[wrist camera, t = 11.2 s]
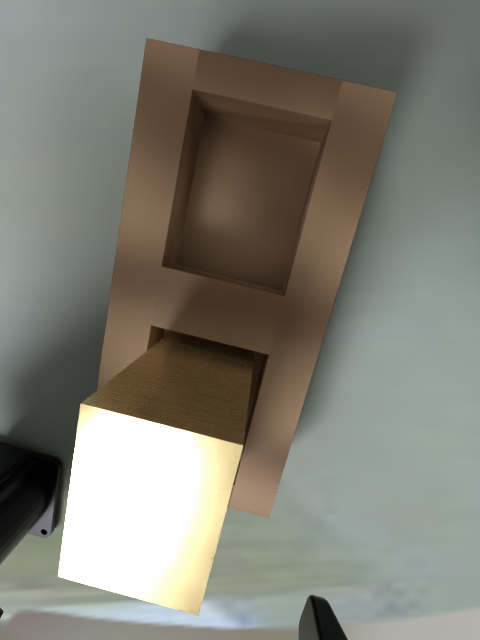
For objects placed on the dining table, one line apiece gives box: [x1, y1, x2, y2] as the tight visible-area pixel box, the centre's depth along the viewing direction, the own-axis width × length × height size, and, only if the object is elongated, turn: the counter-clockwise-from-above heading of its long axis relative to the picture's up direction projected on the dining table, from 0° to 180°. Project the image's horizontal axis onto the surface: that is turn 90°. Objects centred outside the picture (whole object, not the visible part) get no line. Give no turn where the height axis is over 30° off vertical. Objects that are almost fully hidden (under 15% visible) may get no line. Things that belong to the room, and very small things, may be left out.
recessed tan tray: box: [97, 38, 398, 518], centre depth 16 cm, size 20×10×4 cm, turn 167°
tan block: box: [58, 331, 255, 615], centre depth 13 cm, size 6×4×9 cm
